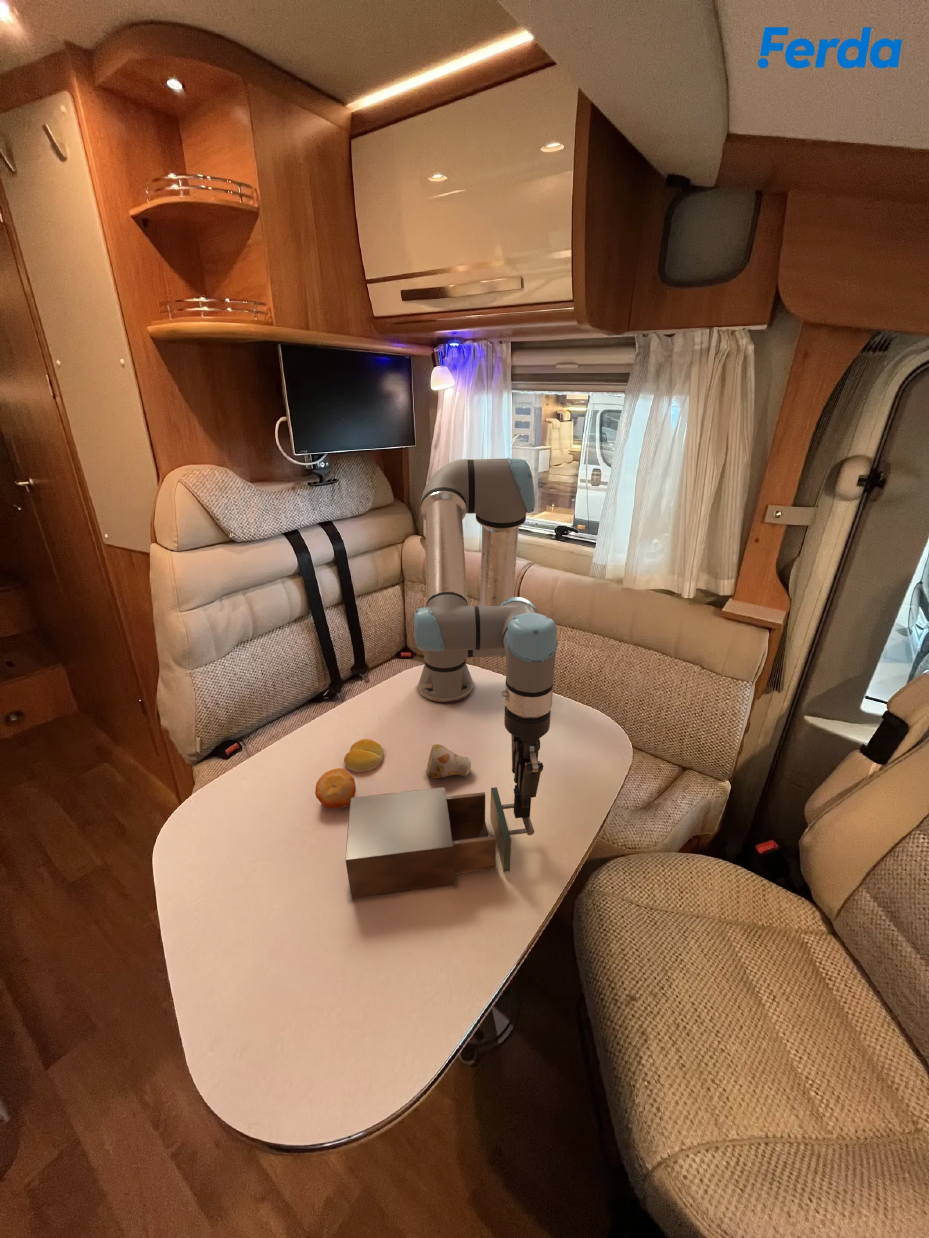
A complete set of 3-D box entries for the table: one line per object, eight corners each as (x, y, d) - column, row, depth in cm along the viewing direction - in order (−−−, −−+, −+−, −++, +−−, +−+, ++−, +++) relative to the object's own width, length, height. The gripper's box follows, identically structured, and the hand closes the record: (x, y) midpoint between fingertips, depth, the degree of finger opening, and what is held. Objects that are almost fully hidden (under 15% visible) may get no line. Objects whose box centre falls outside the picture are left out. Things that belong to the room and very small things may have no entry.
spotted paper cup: (475, 784, 109) (452, 759, 103) (437, 793, 112) (413, 770, 107) (477, 755, 114) (455, 730, 109) (440, 764, 118) (418, 741, 112)
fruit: (357, 773, 110) (353, 762, 103) (358, 810, 105) (354, 801, 99) (319, 778, 108) (313, 767, 102) (319, 816, 104) (312, 806, 98)
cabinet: (446, 823, 99) (444, 786, 95) (454, 885, 87) (453, 846, 83) (356, 834, 97) (350, 797, 93) (351, 899, 85) (345, 860, 80)
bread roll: (339, 770, 113) (337, 757, 111) (356, 745, 120) (355, 732, 119) (373, 777, 111) (371, 763, 109) (388, 750, 118) (387, 737, 117)
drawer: (520, 813, 100) (521, 784, 96) (536, 867, 89) (539, 836, 85) (413, 826, 97) (410, 796, 94) (416, 883, 86) (414, 852, 83)
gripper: (497, 687, 87) (494, 790, 97) (514, 733, 75) (509, 846, 85) (539, 683, 88) (532, 786, 97) (562, 729, 76) (552, 841, 86)
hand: (521, 814), depth 91 cm, fingers closed
